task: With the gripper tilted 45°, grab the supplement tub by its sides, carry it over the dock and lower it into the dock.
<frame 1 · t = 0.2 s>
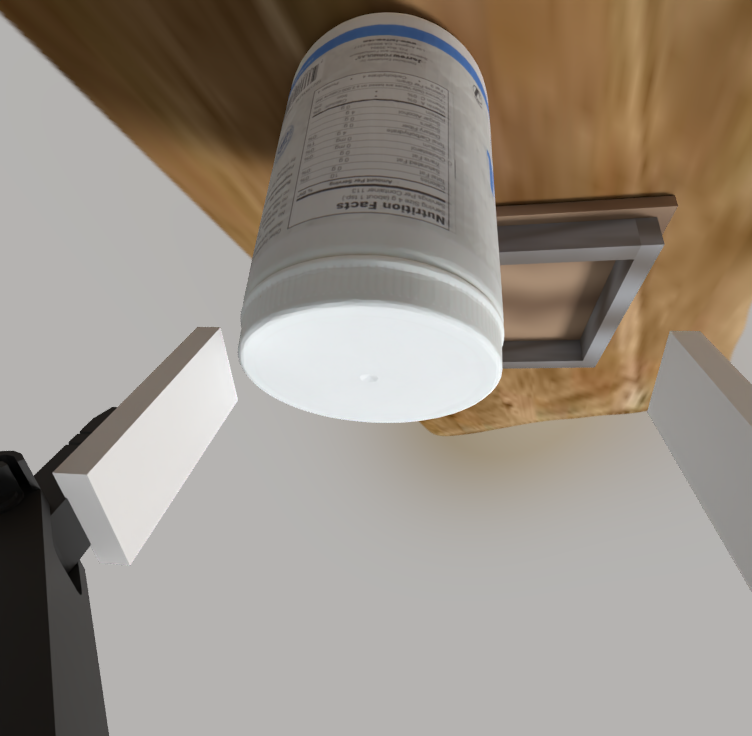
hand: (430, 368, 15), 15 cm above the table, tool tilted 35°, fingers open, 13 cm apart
dock: (506, 289, 37), on the table
supplement tub: (388, 105, 24), on the table
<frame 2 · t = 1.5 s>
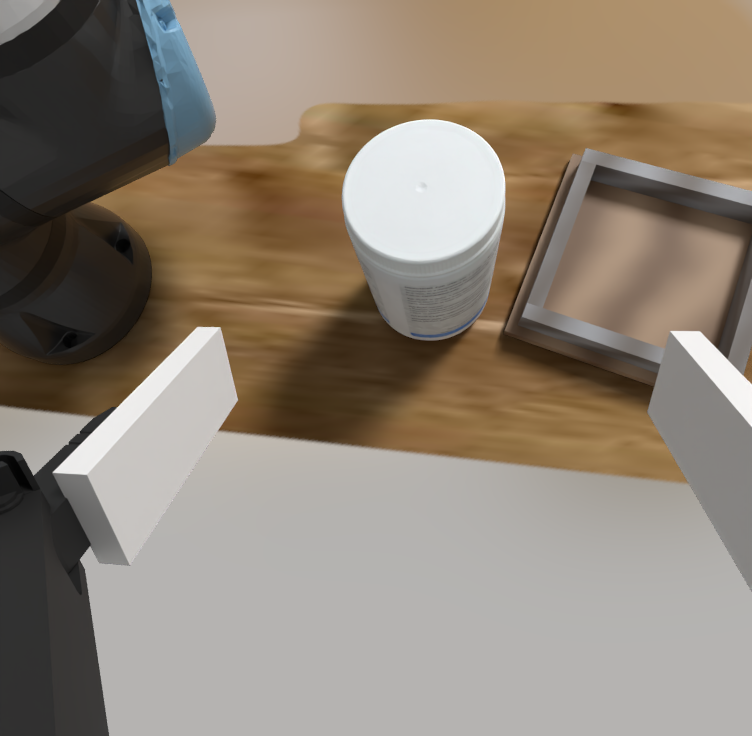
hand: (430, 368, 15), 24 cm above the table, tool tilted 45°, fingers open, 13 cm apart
dock: (641, 275, 39), on the table
supplement tub: (429, 291, 42), on the table
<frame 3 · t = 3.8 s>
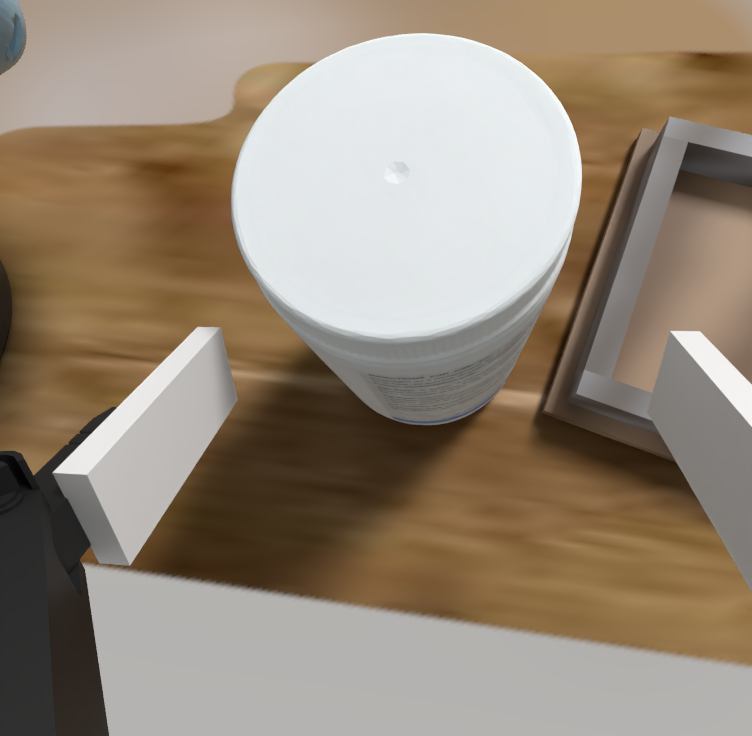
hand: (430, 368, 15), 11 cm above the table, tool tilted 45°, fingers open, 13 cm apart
supplement tub: (423, 342, 27), on the table
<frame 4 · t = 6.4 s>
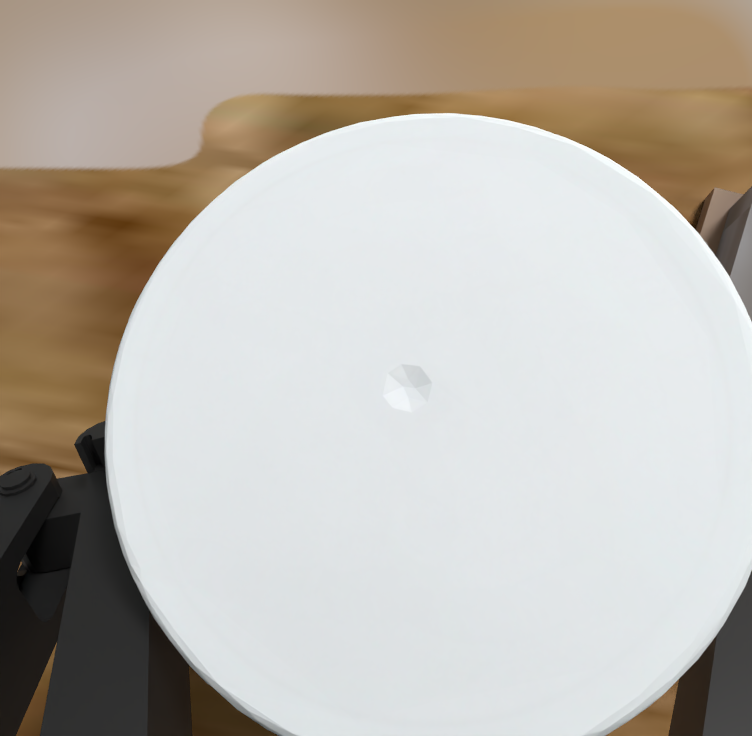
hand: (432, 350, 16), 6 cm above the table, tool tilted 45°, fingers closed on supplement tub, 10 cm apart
supplement tub: (433, 461, 21), on the table, touching gripper
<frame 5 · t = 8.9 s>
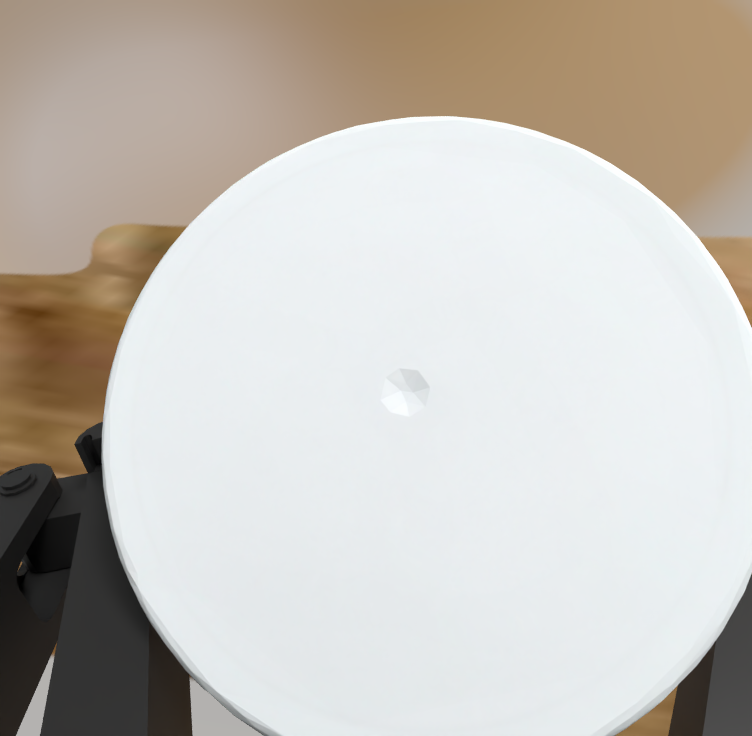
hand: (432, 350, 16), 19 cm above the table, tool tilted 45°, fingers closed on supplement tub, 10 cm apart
supplement tub: (432, 462, 21), point 13 cm above the table, touching gripper
when the fingers open (8 cm above the table, at t = 11.8 s): supplement tub drops 2 cm, resting on dock.
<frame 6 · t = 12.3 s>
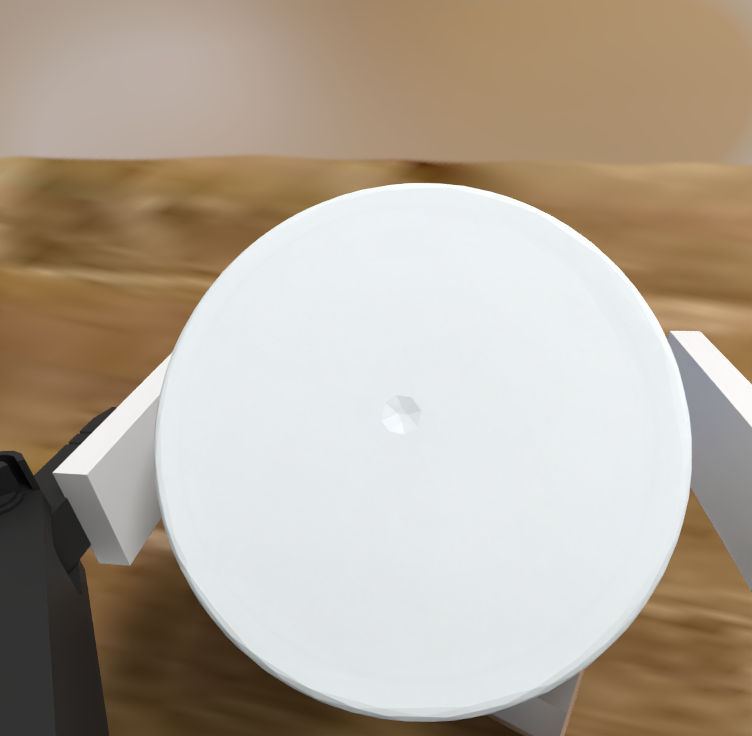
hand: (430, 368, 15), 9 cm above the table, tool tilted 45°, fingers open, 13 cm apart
dock: (434, 463, 23), on the table
supplement tub: (429, 465, 23), point 1 cm above the table, touching dock
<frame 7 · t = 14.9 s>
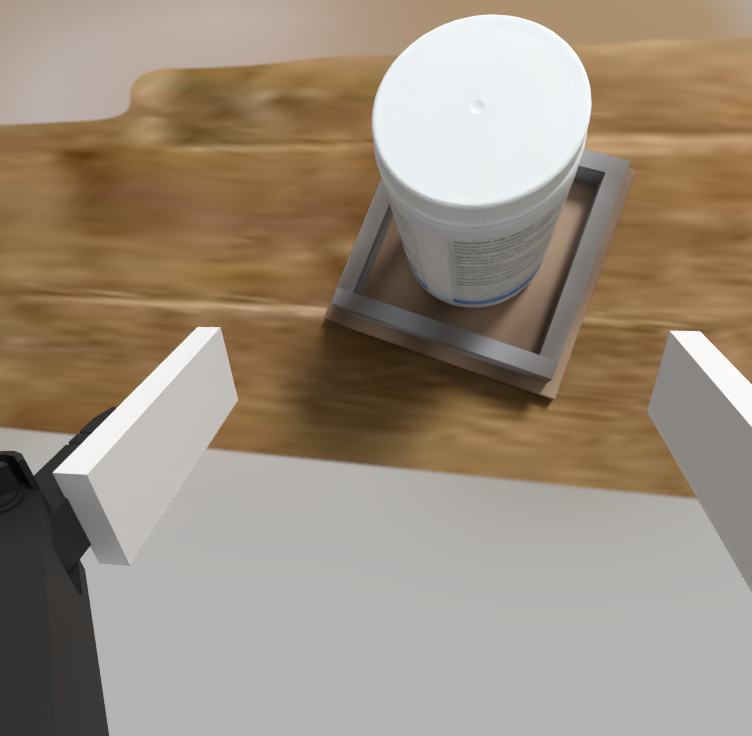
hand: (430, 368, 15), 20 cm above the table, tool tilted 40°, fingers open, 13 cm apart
dock: (475, 250, 36), on the table
supplement tub: (472, 248, 35), point 1 cm above the table, touching dock
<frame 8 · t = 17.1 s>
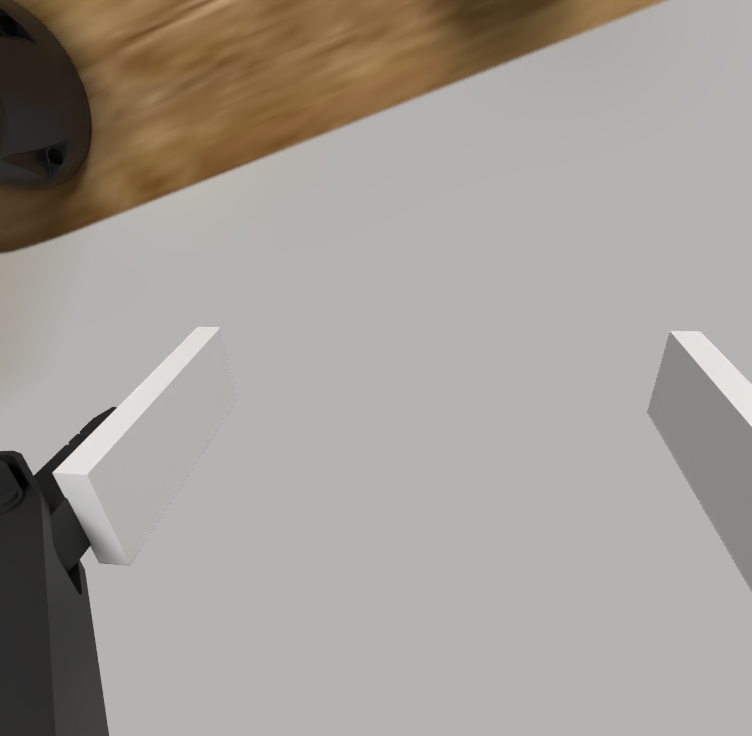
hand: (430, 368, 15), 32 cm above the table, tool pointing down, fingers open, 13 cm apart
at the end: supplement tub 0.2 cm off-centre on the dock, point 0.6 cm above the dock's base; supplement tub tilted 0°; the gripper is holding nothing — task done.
